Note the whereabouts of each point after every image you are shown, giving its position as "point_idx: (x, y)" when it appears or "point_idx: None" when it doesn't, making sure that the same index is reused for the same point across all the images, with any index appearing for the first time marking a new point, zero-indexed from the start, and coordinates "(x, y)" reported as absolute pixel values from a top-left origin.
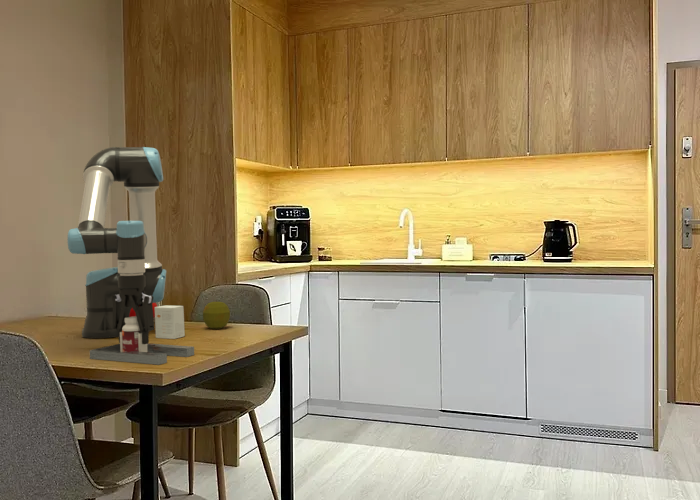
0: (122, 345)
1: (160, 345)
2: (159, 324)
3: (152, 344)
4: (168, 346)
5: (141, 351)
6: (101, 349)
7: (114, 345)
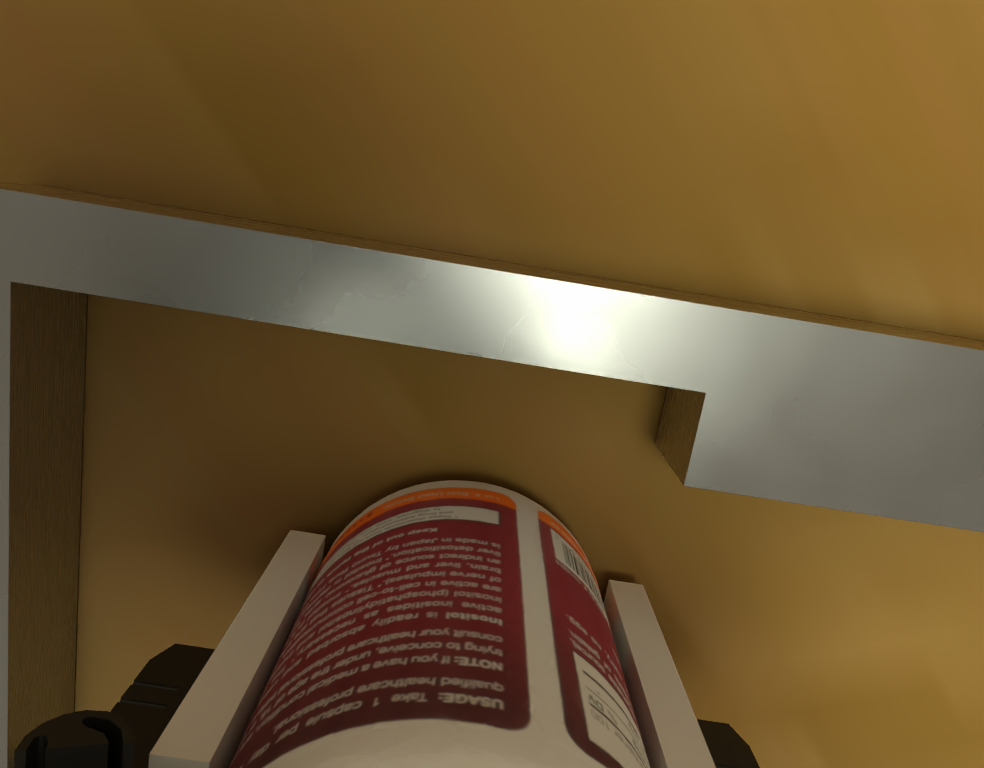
0: None
1: (767, 414)
2: None
3: (578, 351)
4: (947, 474)
5: None
6: None
7: (6, 545)
